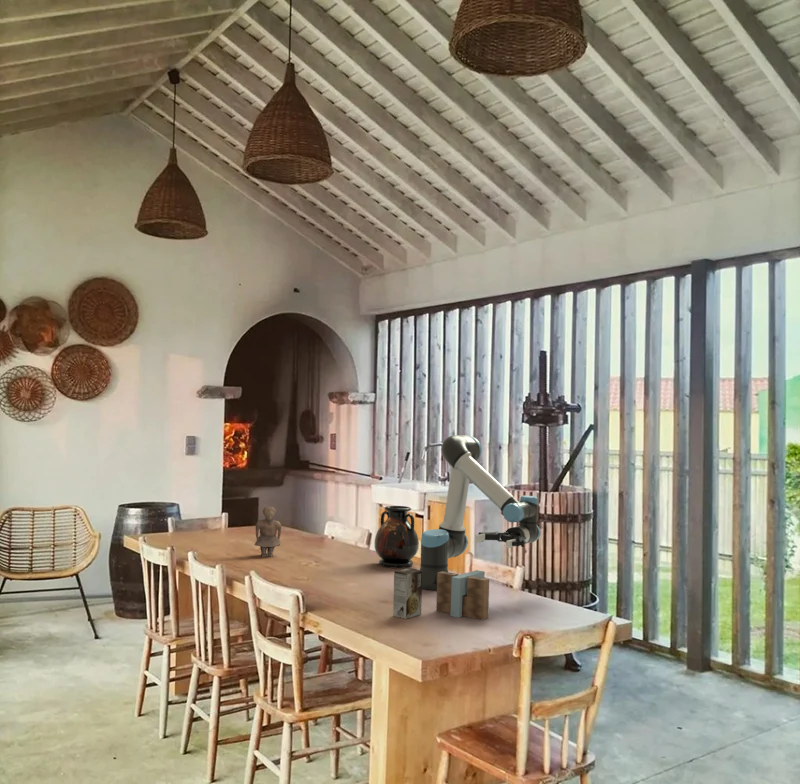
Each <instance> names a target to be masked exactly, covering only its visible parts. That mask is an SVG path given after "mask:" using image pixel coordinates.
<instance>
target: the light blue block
mask: <svg viewBox="0 0 800 784" xmlns="http://www.w3.org/2000/svg"><path fill="white" fill-rule="evenodd" d="M472 576H474V577H480V578H486V577H485V571H483V570H478V569H477V570H476V569H475V570H472V571H470V572H464V573H461V574H458V576H454V577H452V587H451V613H450V617H453V618H459V619H460V618H462V596H463V595H467V581H468V577H472Z"/></svg>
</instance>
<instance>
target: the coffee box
mask: <svg viewBox="0 0 800 784" xmlns="http://www.w3.org/2000/svg"><path fill="white" fill-rule="evenodd" d="M393 573H394V574H393V577H394V578H393V602H392V603H393V605H392V606H393V607H392V608H393V609H392V616H393V617H397V618H400V617H401V619H403V620H405V619H406V620H407V619H410V618H413V617H417V616H420V615H422V598H423V597H422V595H423V594H422V592H423V589H422V570H420V569H417V568H413V567H406V568H401V569H399V570H394V571H393Z"/></svg>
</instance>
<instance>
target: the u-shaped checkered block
mask: <svg viewBox="0 0 800 784" xmlns="http://www.w3.org/2000/svg"><path fill="white" fill-rule="evenodd" d="M458 575H459V573H455V572H450V571H448V572H443V571H442V572H438V573H437V590H436V611H437V612H441V611H442V612H441V613H447V614H451V587H452V577H454V576H458ZM489 598H490V578H486V577H485V578H480V577H474V576H472V577H468V581H467V595H463V596H462V616H463V617H467V618H471V617H472V618H471V619H476V618H477V619H478V620H481V619H483V620H482V621H485V620H487V619H489V605H490V604H489V603H490V599H489ZM486 618H487V619H486ZM477 619H476V620H477ZM484 619H485V620H484Z"/></svg>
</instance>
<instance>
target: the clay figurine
mask: <svg viewBox="0 0 800 784" xmlns="http://www.w3.org/2000/svg"><path fill="white" fill-rule="evenodd" d="M262 514H263V515H264V519H260V520H257V522H256V523H255V538H256V541H255V542H254V546H257V547H259V548H260V553H261V554H260V555H261V557H262V558H265V557H267V556H268V557H269V558H271V557H270V556H272V557H274V554H273V552H274V550H275V547H279V546H280V545H281V543H282V542H281V540H280V538H281V535H282V533H281V532H282V524H281V522H280V521H279V520H275V516H276V515H277V509H276V508H275V507H274V506H272V505H271V506H270V505H267V506H265V507H264V508H263V510H262ZM277 532H278V533H277Z"/></svg>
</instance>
